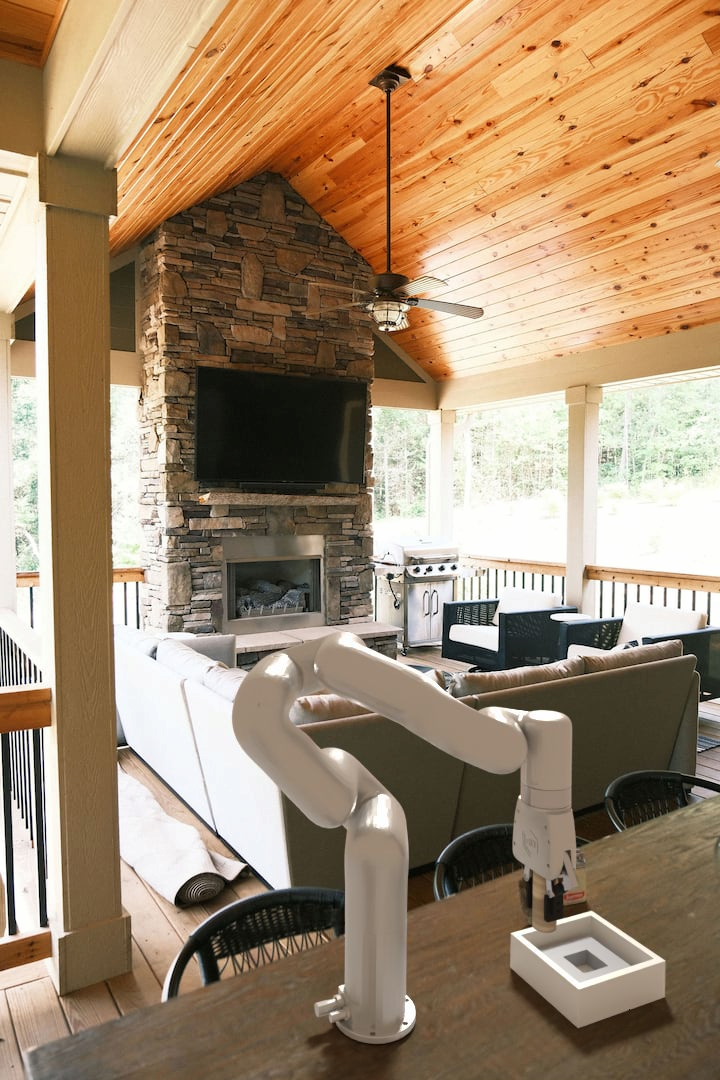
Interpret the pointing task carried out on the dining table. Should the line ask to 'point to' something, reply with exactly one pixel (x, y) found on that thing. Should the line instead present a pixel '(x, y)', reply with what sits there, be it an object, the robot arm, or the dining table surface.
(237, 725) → the robot arm
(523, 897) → the cup
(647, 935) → the dining table surface
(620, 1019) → the dining table surface
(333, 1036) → the dining table surface
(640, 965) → the box
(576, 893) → the lighter
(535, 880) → the peg
